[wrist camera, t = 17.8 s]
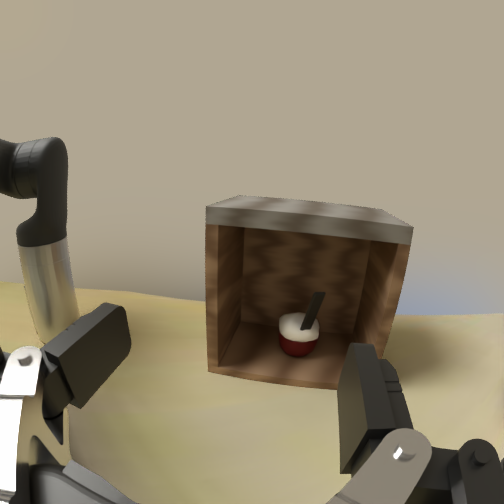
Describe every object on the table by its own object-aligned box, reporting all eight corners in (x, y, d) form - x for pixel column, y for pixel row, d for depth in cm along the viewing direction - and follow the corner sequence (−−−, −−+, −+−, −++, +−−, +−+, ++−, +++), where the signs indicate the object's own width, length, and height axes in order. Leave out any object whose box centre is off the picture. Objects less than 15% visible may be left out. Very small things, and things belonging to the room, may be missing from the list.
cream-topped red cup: (280, 335, 46) (284, 267, 43) (316, 338, 45) (325, 270, 42) (272, 368, 37) (277, 289, 34) (316, 372, 36) (328, 293, 33)
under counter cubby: (208, 371, 37) (205, 206, 31) (234, 321, 52) (239, 195, 45) (369, 391, 33) (413, 227, 27) (357, 336, 47) (381, 209, 41)
